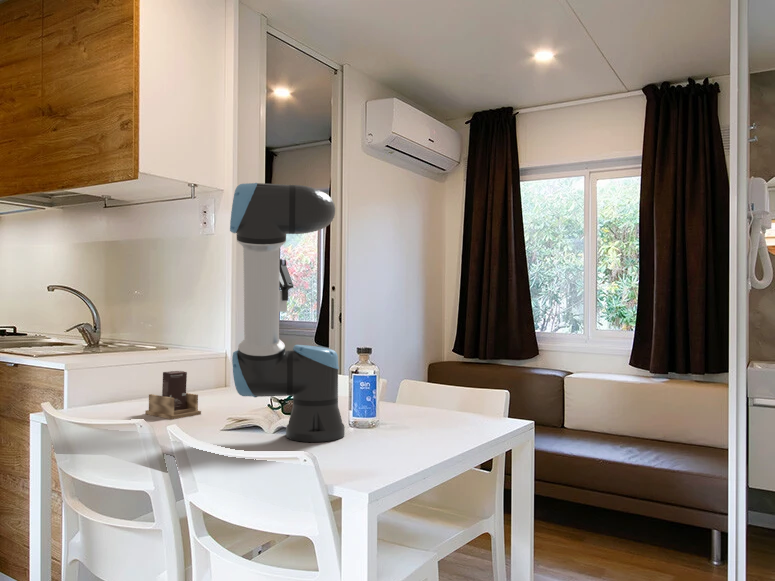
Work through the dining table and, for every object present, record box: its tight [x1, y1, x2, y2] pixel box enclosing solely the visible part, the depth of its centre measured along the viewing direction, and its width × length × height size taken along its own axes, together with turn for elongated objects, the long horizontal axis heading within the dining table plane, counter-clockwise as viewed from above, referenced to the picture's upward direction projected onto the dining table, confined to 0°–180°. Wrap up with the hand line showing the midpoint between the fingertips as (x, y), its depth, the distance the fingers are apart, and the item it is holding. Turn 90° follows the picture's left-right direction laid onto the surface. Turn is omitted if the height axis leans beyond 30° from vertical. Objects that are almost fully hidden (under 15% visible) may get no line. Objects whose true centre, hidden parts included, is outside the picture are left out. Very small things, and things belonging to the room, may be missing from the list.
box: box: [161, 370, 188, 411], centre depth 184 cm, size 6×4×12 cm
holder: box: [145, 392, 202, 420], centre depth 184 cm, size 14×10×6 cm
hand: (267, 311), depth 189 cm, fingers open, 13 cm apart
